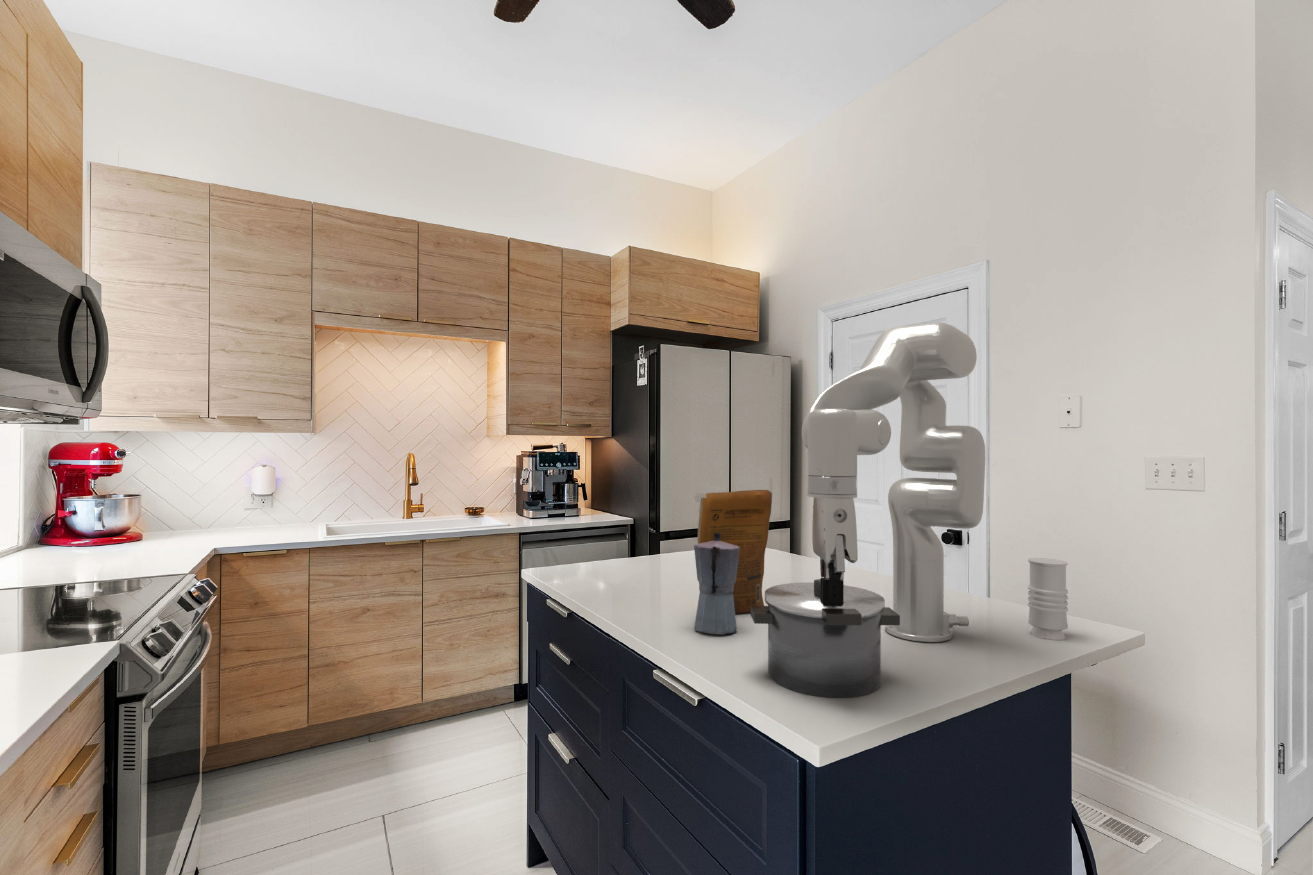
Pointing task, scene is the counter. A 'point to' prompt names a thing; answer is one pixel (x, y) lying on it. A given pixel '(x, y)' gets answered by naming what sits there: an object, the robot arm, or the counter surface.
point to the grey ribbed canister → (1048, 598)
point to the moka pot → (716, 586)
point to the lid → (808, 604)
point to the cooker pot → (824, 652)
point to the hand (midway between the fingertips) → (831, 604)
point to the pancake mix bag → (740, 537)
